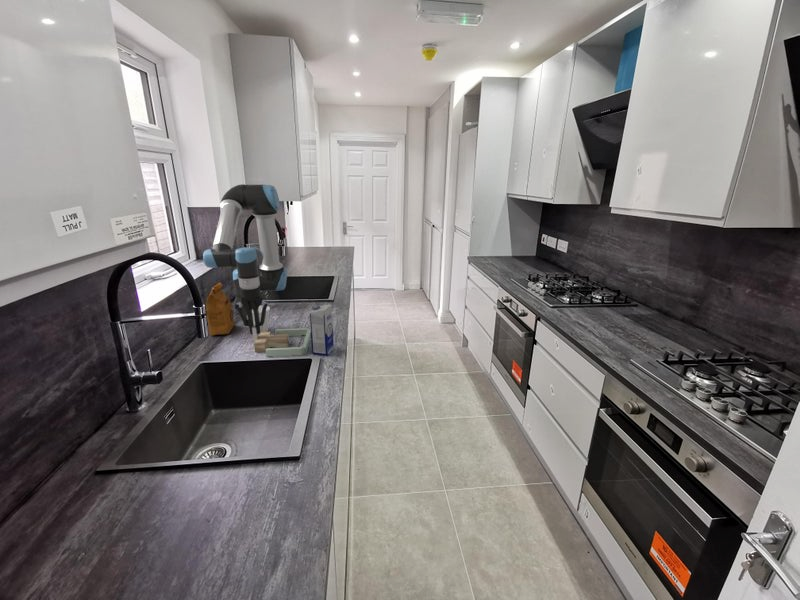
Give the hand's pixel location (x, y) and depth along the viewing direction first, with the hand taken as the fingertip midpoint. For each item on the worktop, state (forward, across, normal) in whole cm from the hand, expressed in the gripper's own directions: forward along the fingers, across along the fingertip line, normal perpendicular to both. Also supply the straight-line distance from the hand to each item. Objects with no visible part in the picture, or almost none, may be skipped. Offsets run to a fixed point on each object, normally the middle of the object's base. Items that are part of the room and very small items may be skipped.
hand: (256, 340), depth 150 cm
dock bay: (+3, +13, 0) cm, 13 cm away
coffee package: (+3, -20, +18) cm, 27 cm away
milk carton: (+3, +28, -8) cm, 29 cm away
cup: (+3, -2, +16) cm, 16 cm away
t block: (+3, +7, 0) cm, 7 cm away
